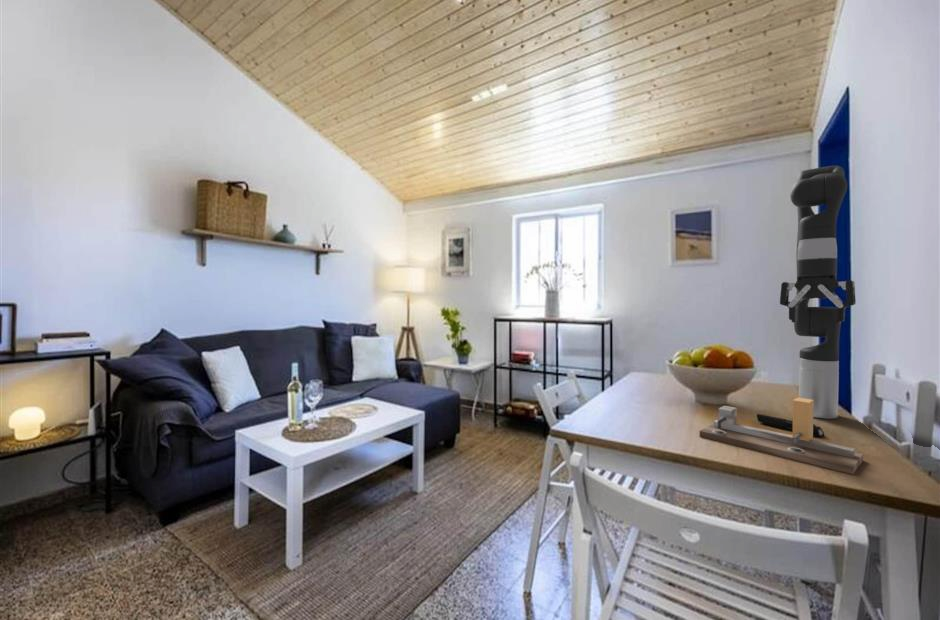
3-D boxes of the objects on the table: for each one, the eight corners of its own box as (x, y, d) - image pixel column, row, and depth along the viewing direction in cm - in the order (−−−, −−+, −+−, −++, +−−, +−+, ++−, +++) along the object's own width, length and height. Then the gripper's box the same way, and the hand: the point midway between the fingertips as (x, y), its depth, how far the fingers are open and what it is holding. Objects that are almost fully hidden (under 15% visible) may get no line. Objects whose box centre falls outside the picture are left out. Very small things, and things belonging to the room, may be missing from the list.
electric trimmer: (760, 422, 121) (760, 412, 121) (825, 436, 108) (825, 424, 108) (754, 424, 119) (754, 414, 119) (819, 439, 106) (819, 427, 106)
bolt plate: (716, 427, 115) (716, 402, 115) (862, 460, 92) (863, 429, 91) (699, 436, 108) (699, 410, 108) (853, 474, 85) (854, 440, 84)
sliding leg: (797, 436, 99) (797, 397, 99) (812, 439, 97) (813, 399, 97) (787, 443, 95) (788, 403, 94) (803, 447, 92) (804, 405, 92)
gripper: (858, 256, 99) (857, 323, 99) (786, 260, 110) (785, 321, 110) (852, 254, 94) (851, 325, 94) (777, 259, 105) (776, 322, 106)
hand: (815, 322), depth 102 cm, fingers open, 8 cm apart
